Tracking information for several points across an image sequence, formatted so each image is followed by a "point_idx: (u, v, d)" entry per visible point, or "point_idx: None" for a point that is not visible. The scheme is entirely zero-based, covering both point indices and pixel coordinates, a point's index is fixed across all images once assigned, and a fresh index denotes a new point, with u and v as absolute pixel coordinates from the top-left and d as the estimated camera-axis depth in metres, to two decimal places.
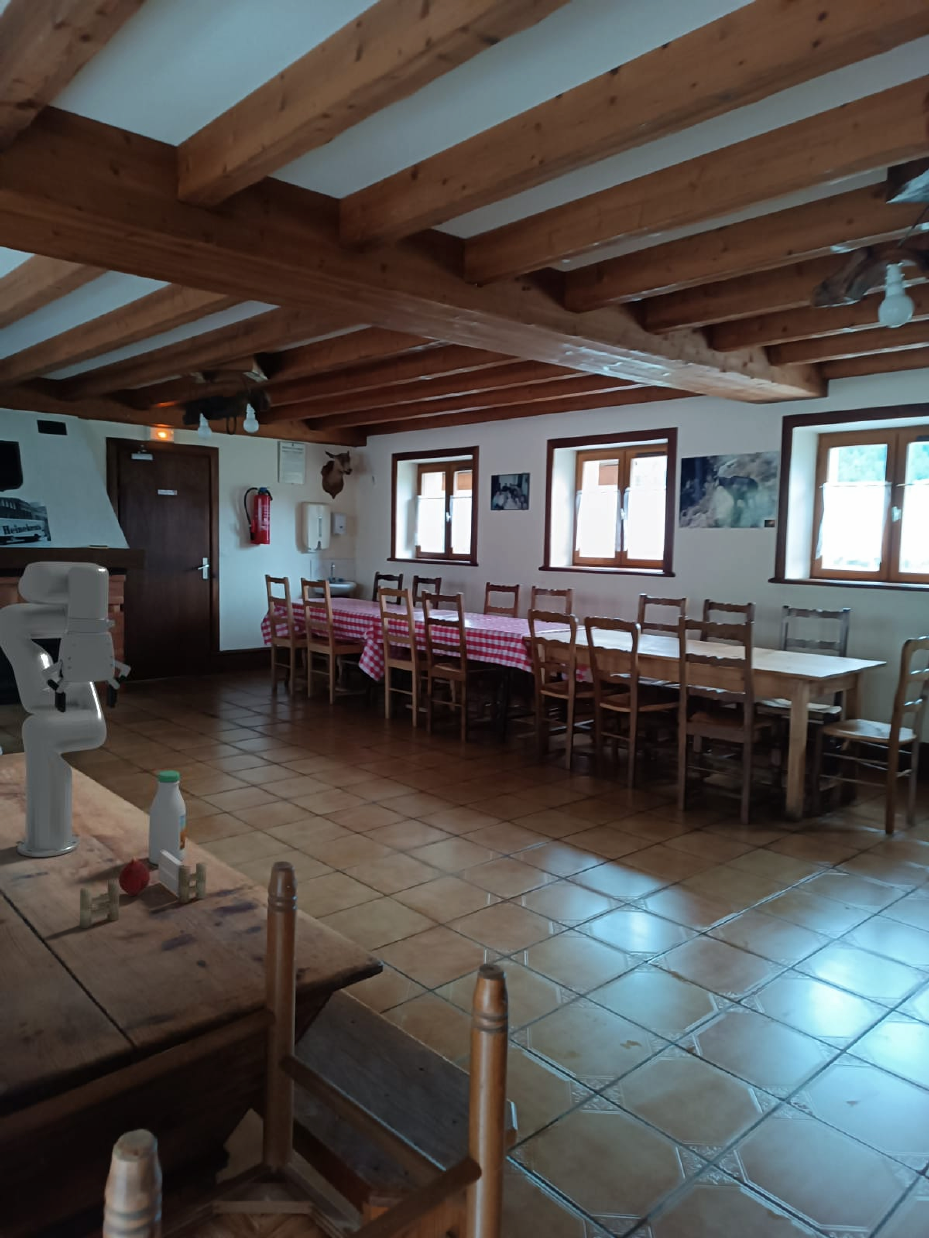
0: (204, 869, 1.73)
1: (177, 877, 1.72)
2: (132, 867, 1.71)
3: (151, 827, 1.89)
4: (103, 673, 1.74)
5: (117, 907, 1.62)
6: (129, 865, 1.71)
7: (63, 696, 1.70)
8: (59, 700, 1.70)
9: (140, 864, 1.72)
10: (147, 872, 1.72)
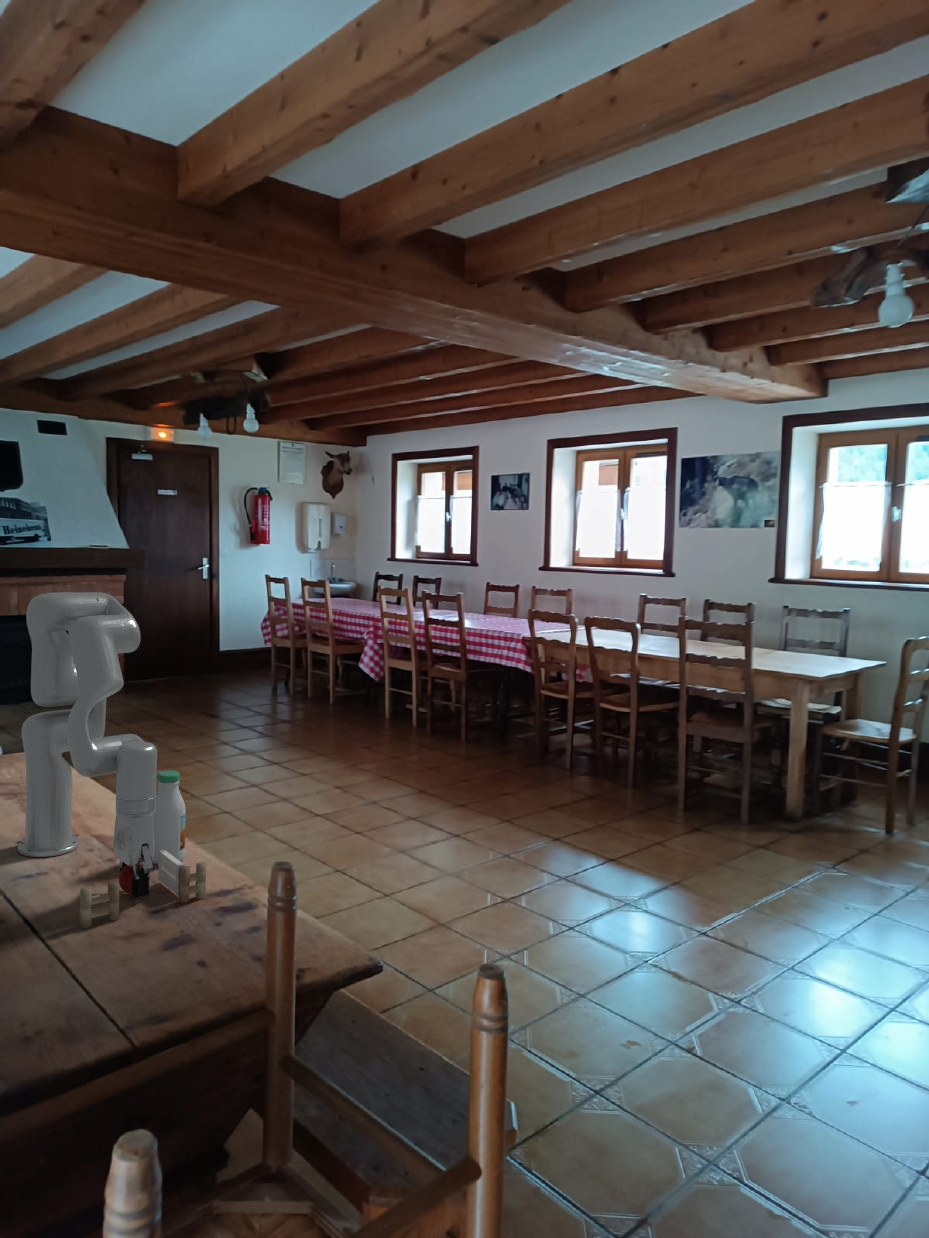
0: (204, 869, 1.73)
1: (177, 877, 1.72)
2: (132, 867, 1.71)
3: None
4: None
5: (117, 907, 1.62)
6: None
7: None
8: None
9: None
10: None
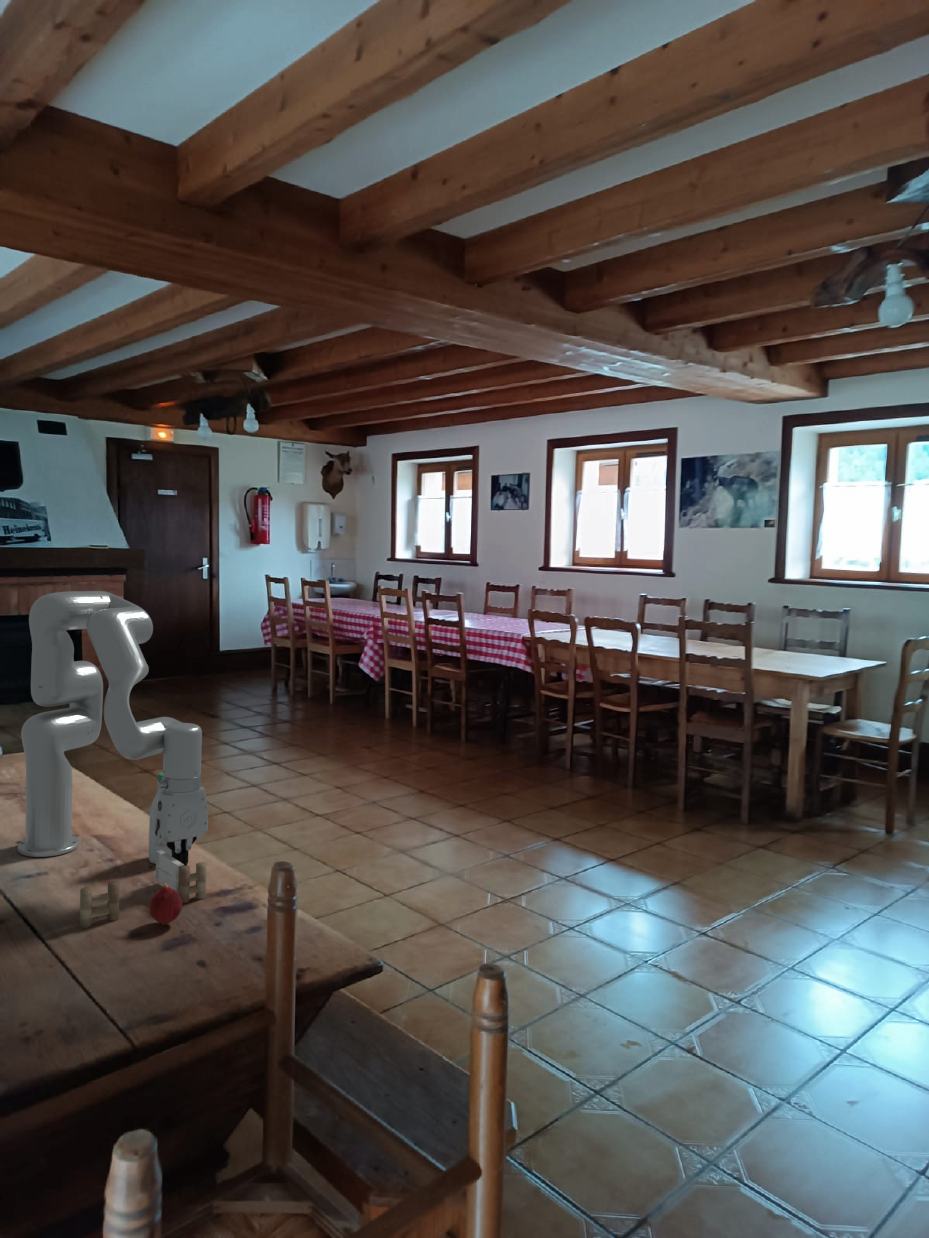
0: (204, 869, 1.73)
1: (177, 877, 1.72)
2: (164, 894, 1.59)
3: (151, 827, 1.89)
4: None
5: (117, 907, 1.62)
6: (161, 892, 1.59)
7: None
8: None
9: (172, 891, 1.60)
10: (180, 899, 1.61)
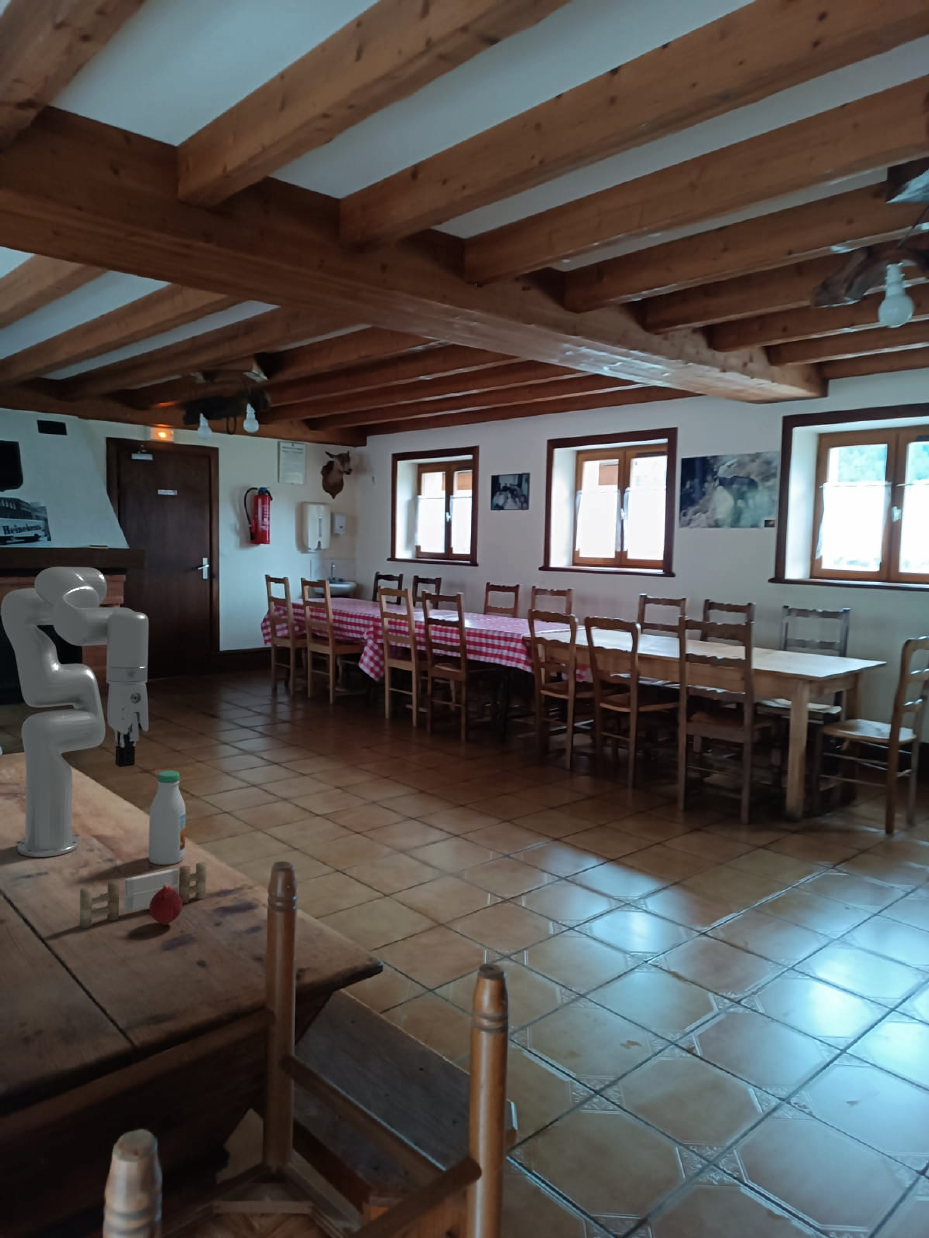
0: (204, 869, 1.73)
1: (176, 883, 1.69)
2: (164, 894, 1.59)
3: (151, 827, 1.89)
4: (119, 725, 1.66)
5: (117, 907, 1.62)
6: (161, 892, 1.59)
7: (116, 749, 1.69)
8: None
9: (172, 891, 1.60)
10: (180, 899, 1.61)
